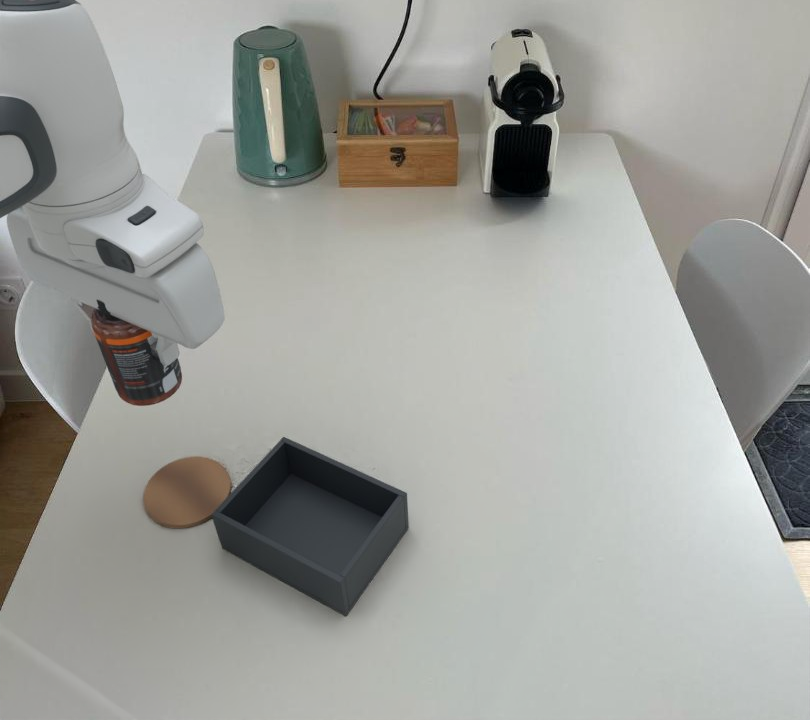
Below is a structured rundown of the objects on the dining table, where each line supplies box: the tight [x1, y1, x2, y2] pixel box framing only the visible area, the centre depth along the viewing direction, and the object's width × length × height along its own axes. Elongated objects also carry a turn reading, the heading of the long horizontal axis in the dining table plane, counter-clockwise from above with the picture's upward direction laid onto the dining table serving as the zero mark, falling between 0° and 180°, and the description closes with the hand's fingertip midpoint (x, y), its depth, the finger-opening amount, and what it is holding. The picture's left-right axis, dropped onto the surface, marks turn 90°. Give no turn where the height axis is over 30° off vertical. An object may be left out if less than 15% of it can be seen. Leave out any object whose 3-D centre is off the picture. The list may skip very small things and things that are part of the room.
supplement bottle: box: [91, 300, 183, 407], centre depth 70 cm, size 6×6×11 cm
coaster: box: [142, 456, 233, 529], centre depth 85 cm, size 9×9×1 cm
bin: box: [211, 436, 410, 617], centre depth 78 cm, size 11×15×6 cm
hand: (136, 345), depth 71 cm, fingers closed on supplement bottle, 6 cm apart
